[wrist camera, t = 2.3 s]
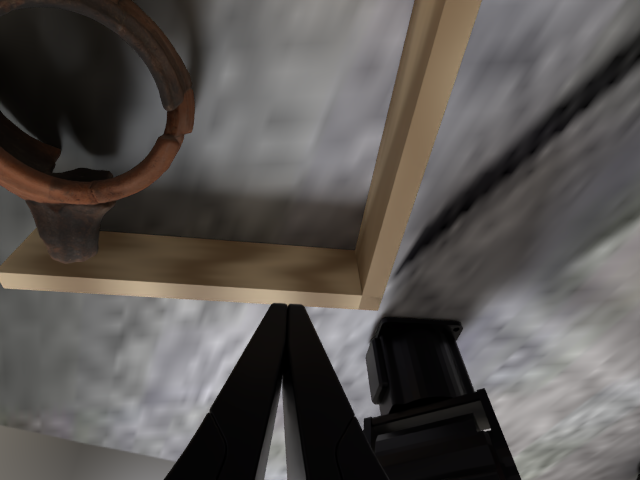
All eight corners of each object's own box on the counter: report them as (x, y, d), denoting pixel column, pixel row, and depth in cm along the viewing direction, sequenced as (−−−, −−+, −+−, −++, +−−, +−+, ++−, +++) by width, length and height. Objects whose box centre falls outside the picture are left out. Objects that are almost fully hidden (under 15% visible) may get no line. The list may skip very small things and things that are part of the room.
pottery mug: (-82, -41, 15) (-203, -111, 8) (169, 3, 19) (213, -21, 13) (-4, 235, 20) (-44, 322, 13) (182, 217, 24) (219, 275, 18)
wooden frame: (460, -64, 14) (503, -65, 11) (369, 264, 25) (378, 310, 22) (-132, -163, 12) (-281, -198, 9) (44, 241, 23) (4, 288, 20)
